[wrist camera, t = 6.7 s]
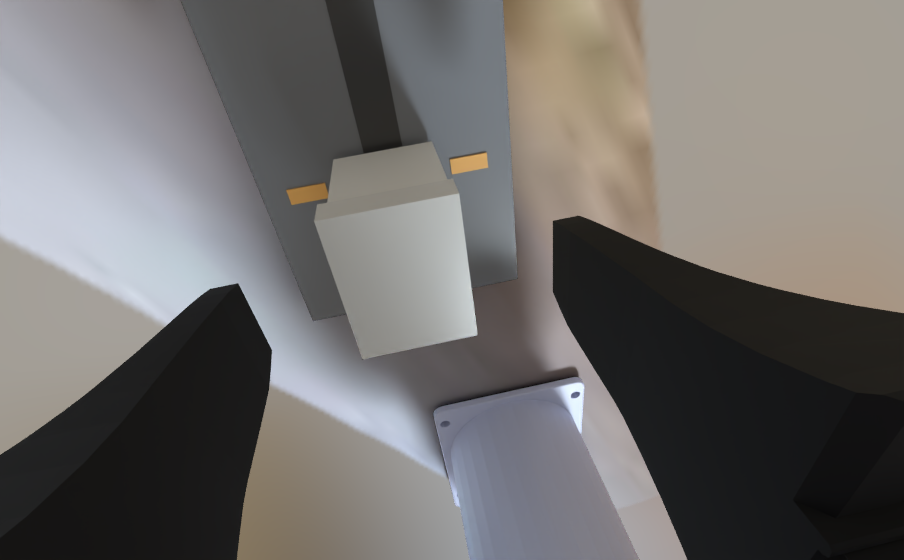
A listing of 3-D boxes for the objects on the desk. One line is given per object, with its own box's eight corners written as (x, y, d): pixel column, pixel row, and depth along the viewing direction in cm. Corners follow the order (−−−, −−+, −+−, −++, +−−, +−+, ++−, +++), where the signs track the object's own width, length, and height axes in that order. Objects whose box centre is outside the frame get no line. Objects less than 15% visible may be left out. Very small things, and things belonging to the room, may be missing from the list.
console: (507, 258, 19) (517, 279, 17) (316, 297, 18) (313, 322, 17) (451, -560, 8) (468, -657, 7) (-3, -519, 8) (-75, -613, 6)
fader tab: (447, 240, 16) (477, 335, 12) (362, 257, 15) (362, 359, 11) (429, 124, 13) (458, 193, 9) (328, 143, 13) (314, 221, 9)
